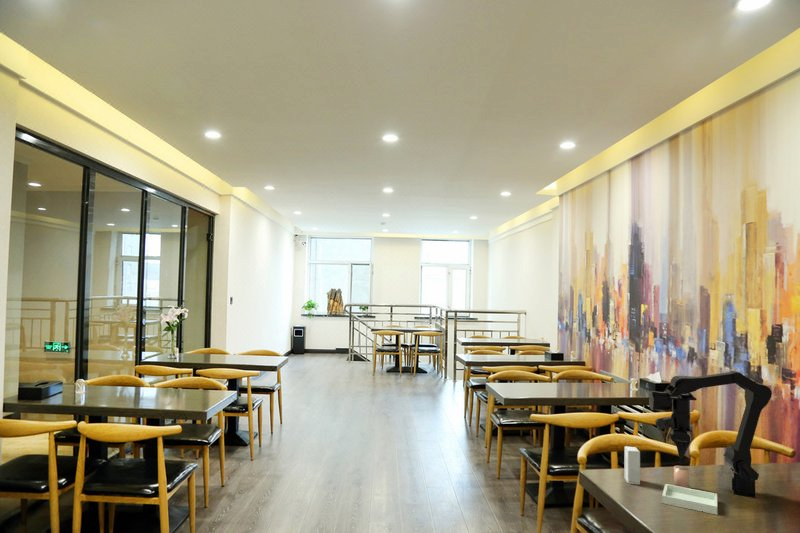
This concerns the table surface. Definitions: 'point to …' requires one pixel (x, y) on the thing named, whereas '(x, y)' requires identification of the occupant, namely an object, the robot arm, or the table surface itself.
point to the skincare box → (632, 465)
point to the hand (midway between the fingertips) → (681, 455)
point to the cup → (682, 476)
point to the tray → (690, 498)
